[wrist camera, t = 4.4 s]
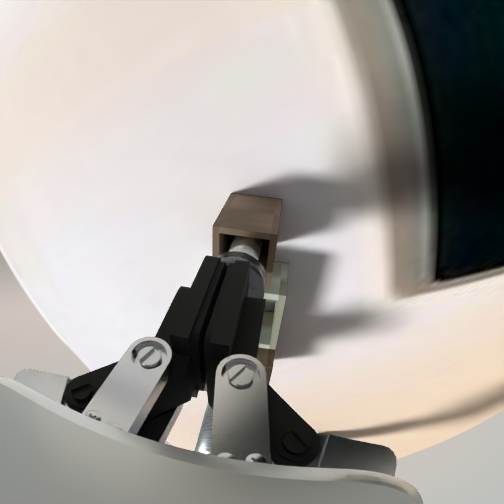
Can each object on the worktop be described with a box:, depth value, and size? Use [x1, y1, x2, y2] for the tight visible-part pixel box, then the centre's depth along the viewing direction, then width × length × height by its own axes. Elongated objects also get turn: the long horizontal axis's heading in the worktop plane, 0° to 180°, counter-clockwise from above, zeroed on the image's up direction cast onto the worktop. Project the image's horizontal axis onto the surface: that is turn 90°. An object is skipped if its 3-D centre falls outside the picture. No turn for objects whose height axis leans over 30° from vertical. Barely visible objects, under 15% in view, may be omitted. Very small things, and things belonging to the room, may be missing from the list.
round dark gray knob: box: [217, 235, 267, 299], centre depth 14 cm, size 2×2×6 cm
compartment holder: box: [204, 193, 289, 391], centre depth 18 cm, size 5×14×4 cm, turn 176°
